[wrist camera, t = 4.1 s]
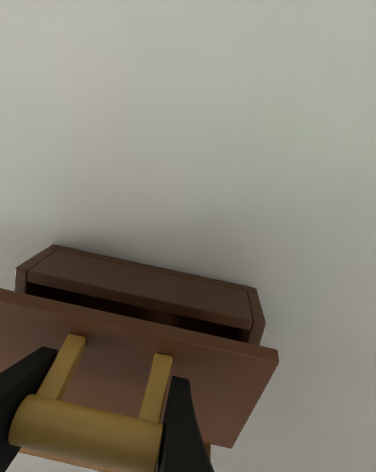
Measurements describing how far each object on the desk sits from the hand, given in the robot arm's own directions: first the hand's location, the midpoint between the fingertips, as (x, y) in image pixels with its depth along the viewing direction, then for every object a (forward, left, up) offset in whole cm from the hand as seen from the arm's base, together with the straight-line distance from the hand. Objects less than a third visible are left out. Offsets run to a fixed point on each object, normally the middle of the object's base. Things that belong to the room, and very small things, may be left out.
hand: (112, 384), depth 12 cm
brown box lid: (0, +1, -2) cm, 2 cm away
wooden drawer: (0, +1, -7) cm, 7 cm away
